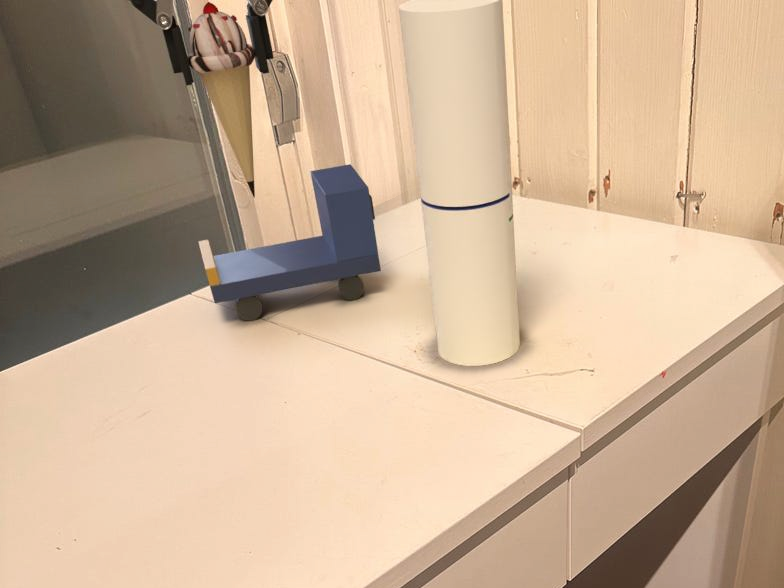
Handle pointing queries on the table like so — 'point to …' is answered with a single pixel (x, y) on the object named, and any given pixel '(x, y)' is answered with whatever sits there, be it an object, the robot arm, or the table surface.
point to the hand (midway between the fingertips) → (225, 73)
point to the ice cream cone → (226, 78)
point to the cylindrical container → (464, 173)
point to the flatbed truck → (305, 249)
